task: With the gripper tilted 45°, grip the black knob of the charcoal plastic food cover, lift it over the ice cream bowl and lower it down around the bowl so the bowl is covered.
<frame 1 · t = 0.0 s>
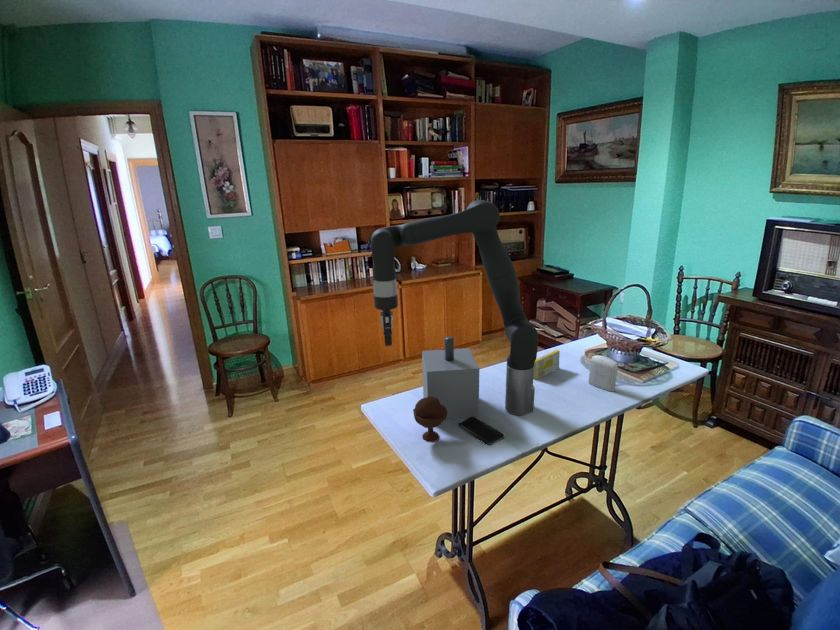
hand: (388, 340, 143), 29 cm above the table, tool pointing down, fingers open, 8 cm apart
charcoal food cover: (449, 406, 159), on the table
black smartphone: (480, 432, 144), on the table
ice cream bowl: (430, 437, 141), on the table
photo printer: (601, 386, 170), on the table
candy box: (545, 373, 182), on the table
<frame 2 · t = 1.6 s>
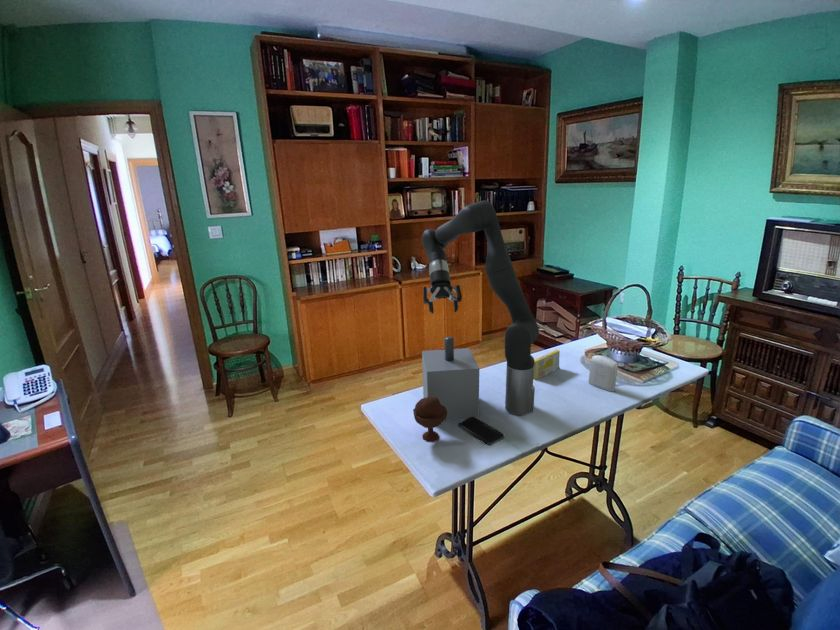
hand: (444, 311, 159), 33 cm above the table, tool tilted 45°, fingers open, 8 cm apart
nothing on the table moved.
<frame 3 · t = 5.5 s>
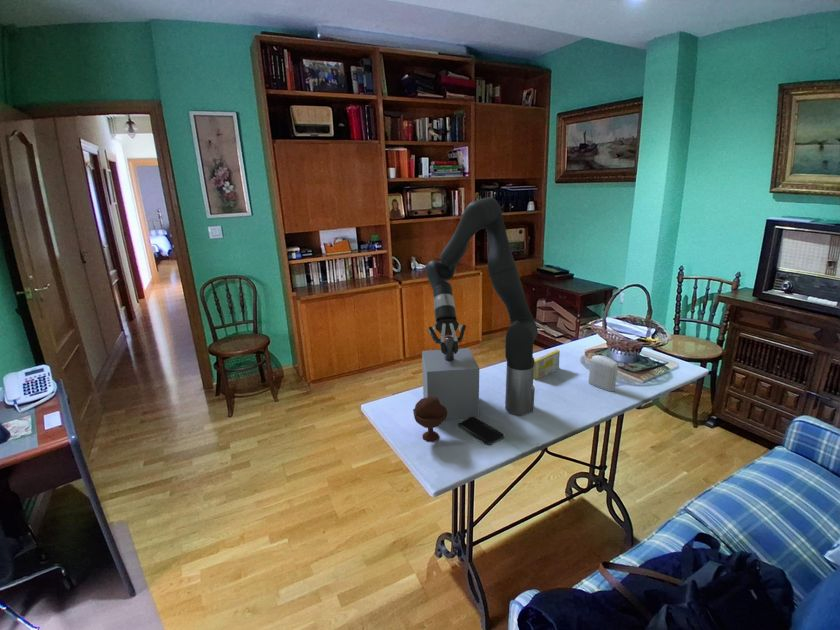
hand: (450, 353, 150), 22 cm above the table, tool tilted 45°, fingers closed on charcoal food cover, 3 cm apart
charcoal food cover: (449, 406, 159), on the table, touching gripper
everything else where it was.
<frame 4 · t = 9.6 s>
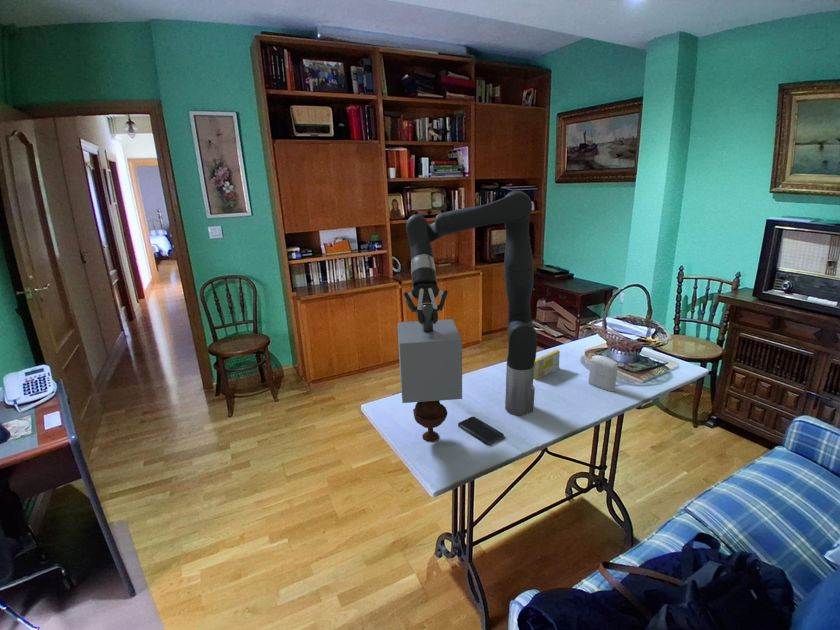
hand: (428, 322, 127), 40 cm above the table, tool tilted 45°, fingers closed on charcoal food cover, 3 cm apart
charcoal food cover: (429, 386, 136), point 18 cm above the table, touching gripper
everything else where it was.
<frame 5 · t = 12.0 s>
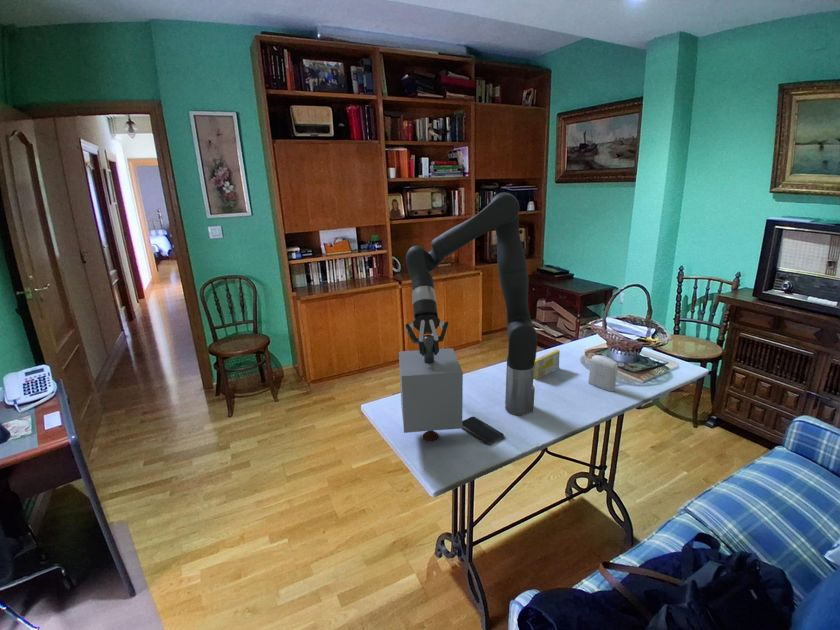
hand: (429, 354, 130), 30 cm above the table, tool tilted 45°, fingers closed on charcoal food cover, 3 cm apart
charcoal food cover: (430, 414, 139), point 8 cm above the table, touching gripper
everything else where it was.
when the fingers open (23 cm above the table, at t = 13.9 s): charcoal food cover drops 1 cm, on the table.
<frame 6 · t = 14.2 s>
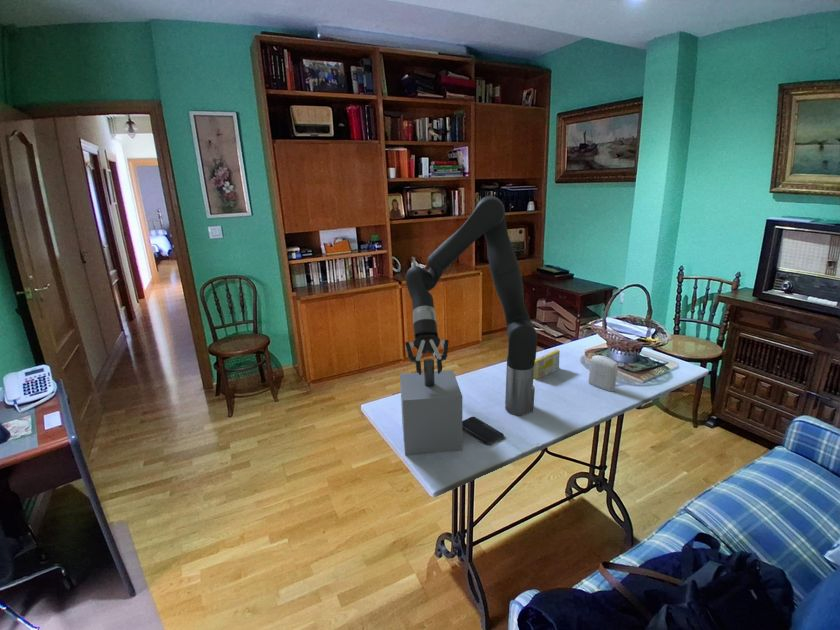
hand: (429, 373, 132), 24 cm above the table, tool tilted 45°, fingers open, 5 cm apart
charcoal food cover: (430, 436, 141), on the table
everything else where it was.
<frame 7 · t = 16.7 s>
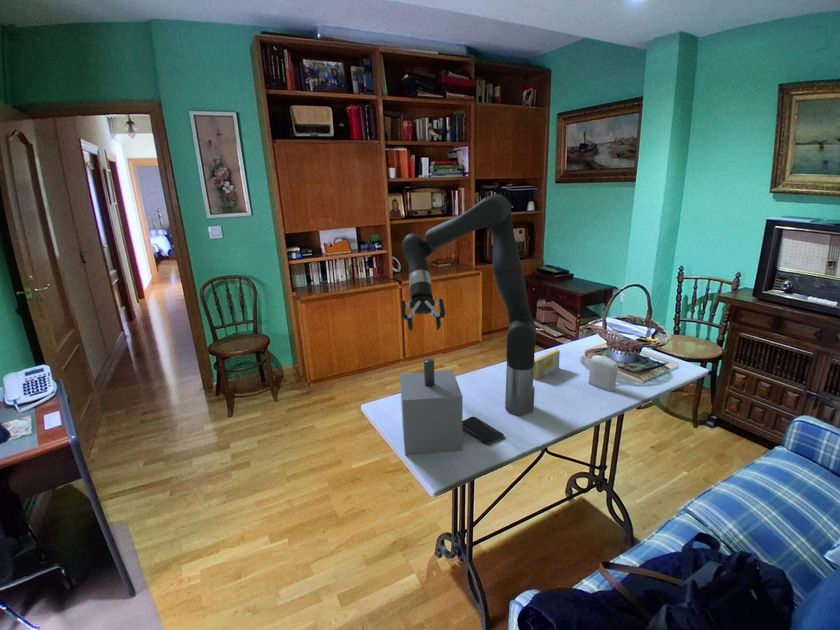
hand: (424, 329, 141), 33 cm above the table, tool tilted 45°, fingers open, 8 cm apart
nothing on the table moved.
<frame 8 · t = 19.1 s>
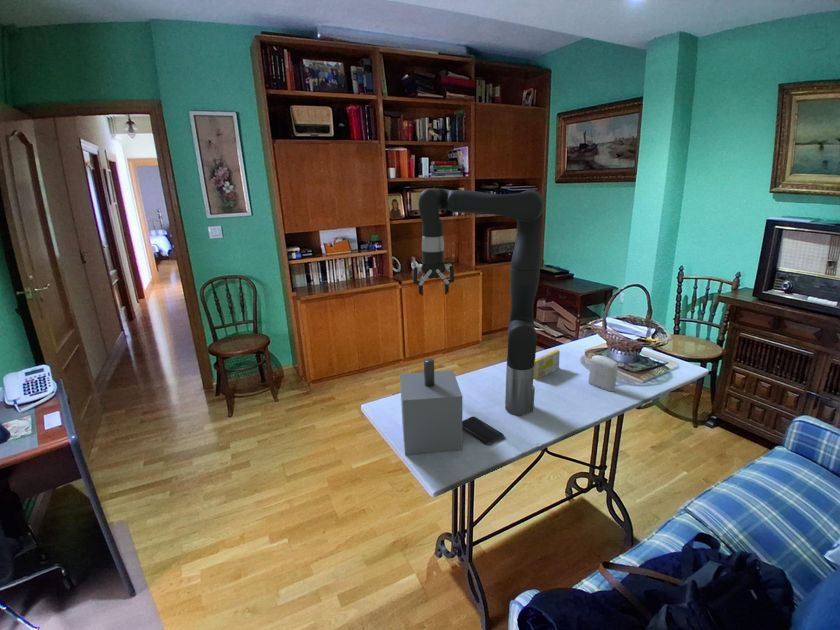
hand: (433, 294, 154), 40 cm above the table, tool pointing down, fingers open, 8 cm apart
nothing on the table moved.
at the end: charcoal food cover 0.3 cm off-centre on the ice cream bowl, point 0.2 cm above the ice cream bowl's base; the gripper is holding nothing; ice cream bowl tilted 0° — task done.
